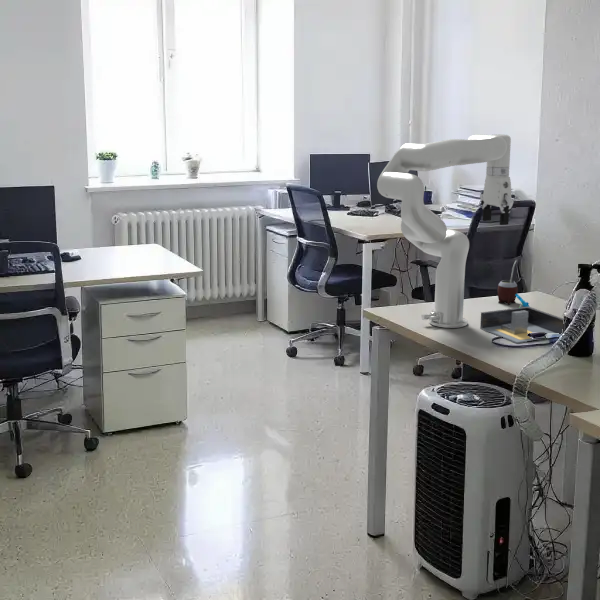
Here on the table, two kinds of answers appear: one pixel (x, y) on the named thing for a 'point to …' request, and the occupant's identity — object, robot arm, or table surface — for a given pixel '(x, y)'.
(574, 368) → the table surface
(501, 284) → the mate gourd
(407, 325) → the table surface
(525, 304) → the blue toy cog wheel
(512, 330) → the bracket
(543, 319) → the tray
